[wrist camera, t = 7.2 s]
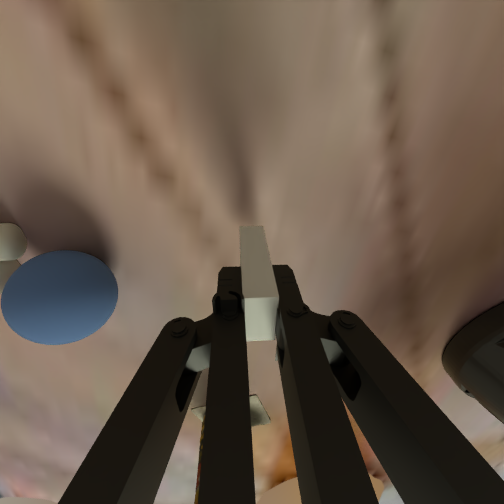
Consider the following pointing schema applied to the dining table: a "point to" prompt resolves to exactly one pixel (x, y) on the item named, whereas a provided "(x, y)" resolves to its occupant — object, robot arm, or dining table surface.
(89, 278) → the ball
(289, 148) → the dining table surface
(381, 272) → the dining table surface
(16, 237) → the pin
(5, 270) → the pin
